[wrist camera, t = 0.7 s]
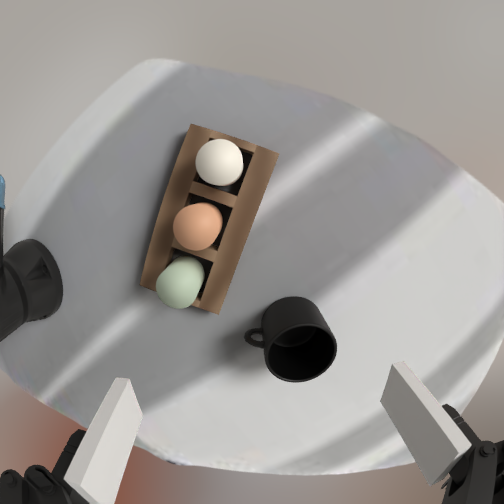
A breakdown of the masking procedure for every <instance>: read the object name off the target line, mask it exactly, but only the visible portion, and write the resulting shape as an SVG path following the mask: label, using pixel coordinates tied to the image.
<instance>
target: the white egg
mask: <svg viewBox="0 0 504 504" xmlns="http://www.w3.org/2000/svg"><path fill="white" fill-rule="evenodd" d="M196 169H197V172H198V174H199V175H200V177H201V178H202V179H203V180H204V181H206V182H208V183H210V184H213V185H219V186H227V185H231V184H233V183H234V182H236V181H237V180H238V179H239V178H240V176H241V174H242V172H243V158H242V154H241V152H240V150H239V148H238V147H237V146H236V145H235V144H234V143H232V142H230V141H228V140H225V139H215V140H212V141H209V142H207V143H206V144H204V145H203V146H202V147H201V149H200V150H199V152H198V154H197V156H196Z"/></svg>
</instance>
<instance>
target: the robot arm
mask: <svg viewBox="0 0 504 504" xmlns="http://www.w3.org/2000/svg"><path fill="white" fill-rule="evenodd" d="M4 196H5V181H4V178H3V177H2V176H1V175H0V342H1V341H2V340H3V339H5V338H6V337H7V336H8V335H9V334H11V333H12V332H13V331H15V330H16V329H17V328H18V327H20V326H21V325H22V324H24V323H25V322H30V321H36V320H41V319H46V318H48V317H49V316H51V315H52V314H53V313H55V312H56V311H57V310H58V309H59V307H60V305H61V302H62V297H63V285H62V279H61V275H60V271H59V268H58V266H57V264H56V261H55V260H54V258H53V256H52V254H51V253H50V252H49V250H48V249H47V248H46V247H45V246H44V245H43V244H42V243H40V242H39V241H37V240H34V239H26V240H23V241H20V242H18V243H16V244H15V245H14V246H13V247H12V248H11V249H10V250H9V251H8V252H7V253H6V254H5V255H4V256H3V222H4V209H5V205H4ZM380 402H381V403H382V405H383V406H384V408H385V410H386V411H387V413H388V415H389V416H390V418H391V420H392V421H393V423H394V425H395V427H396V428H397V430H398V432H399V433H400V435H401V437H402V438H403V440H404V442H405V444H406V445H407V447H408V449H409V450H410V452H411V454H412V456H413V457H414V459H415V461H416V463H417V464H418V466H419V468H420V470H421V471H422V473H423V475H424V477H425V479H426V480H427V482H428V484H429V486H431V485H433V484H435V483H437V482H439V481H441V480H443V479H444V478H445V476H446V475H447V474H448V473H449V474H450V476H451V477H450V478H449V479H448V480H447V481H446V482H445V483H444V484H443V485H442V487H441V489H443V488H444V487H445V486H446V485H447V487H446V491H445V495H444V499H443V502H442V504H504V440H503V441H500V442H498V443H492V442H491V441H481V440H480V439H479V438H478V437H477V436H476V434H475V433H474V432H473V430H472V429H471V428H470V427H469V426H468V424H467V423H466V422H464V420H463V418H462V417H460V415H459V413H458V412H457V411H456V410H455V409H454V408H453V407H451V406H449V405H448V404H445V405H443V406H441V405H440V404H439V402H438V401H437V400H436V399H435V398H434V396H433V395H432V394H431V393H430V391H429V390H428V389H427V388H426V387H425V385H424V384H423V383H422V382H421V381H420V379H419V378H418V377H417V376H416V375H415V374H414V372H413V371H412V370H411V369H410V368H409V367H408V365H407V364H406V363H405V362H404V361H402V362H398V363H394V364H392V366H391V370H390V373H389V376H388V380H387V383H386V386H385V389H384V392H383V395H382V398H381V400H380ZM142 418H143V414H142V412H141V409H140V407H139V404H138V401H137V399H136V396H135V393H134V391H133V388H132V385H131V382H130V379H125V378H117V377H116V379H115V380H114V382H113V384H112V386H111V387H110V389H109V391H108V393H107V394H106V396H105V398H104V400H103V402H102V404H101V405H100V407H99V409H98V411H97V413H96V415H95V416H94V418H93V420H92V422H91V424H90V426H89V428H88V430H87V431H84V430H80V429H78V430H77V431H76V432H75V433H73V434H72V435H71V437H70V438H69V441H68V442H67V445H66V446H65V448H64V451H63V452H62V453H61V455H60V457H59V459H58V461H57V463H56V465H55V467H54V469H53V471H52V473H50V472H49V471H48V470H47V469H46V468H45V467H44V466H41V465H32V466H30V467H29V468H28V469H27V470H26V471H25V474H24V477H22V476H21V475H20V474H19V473H17V472H16V471H15V470H12V469H10V470H6V471H4V472H3V473H2V474H1V477H0V504H89V503H90V504H114V502H115V499H116V495H117V492H118V489H119V486H120V483H121V479H122V476H123V473H124V470H125V467H126V464H127V461H128V458H129V455H130V452H131V449H132V446H133V443H134V440H135V437H136V435H137V432H138V429H139V426H140V423H141V420H142Z"/></svg>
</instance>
